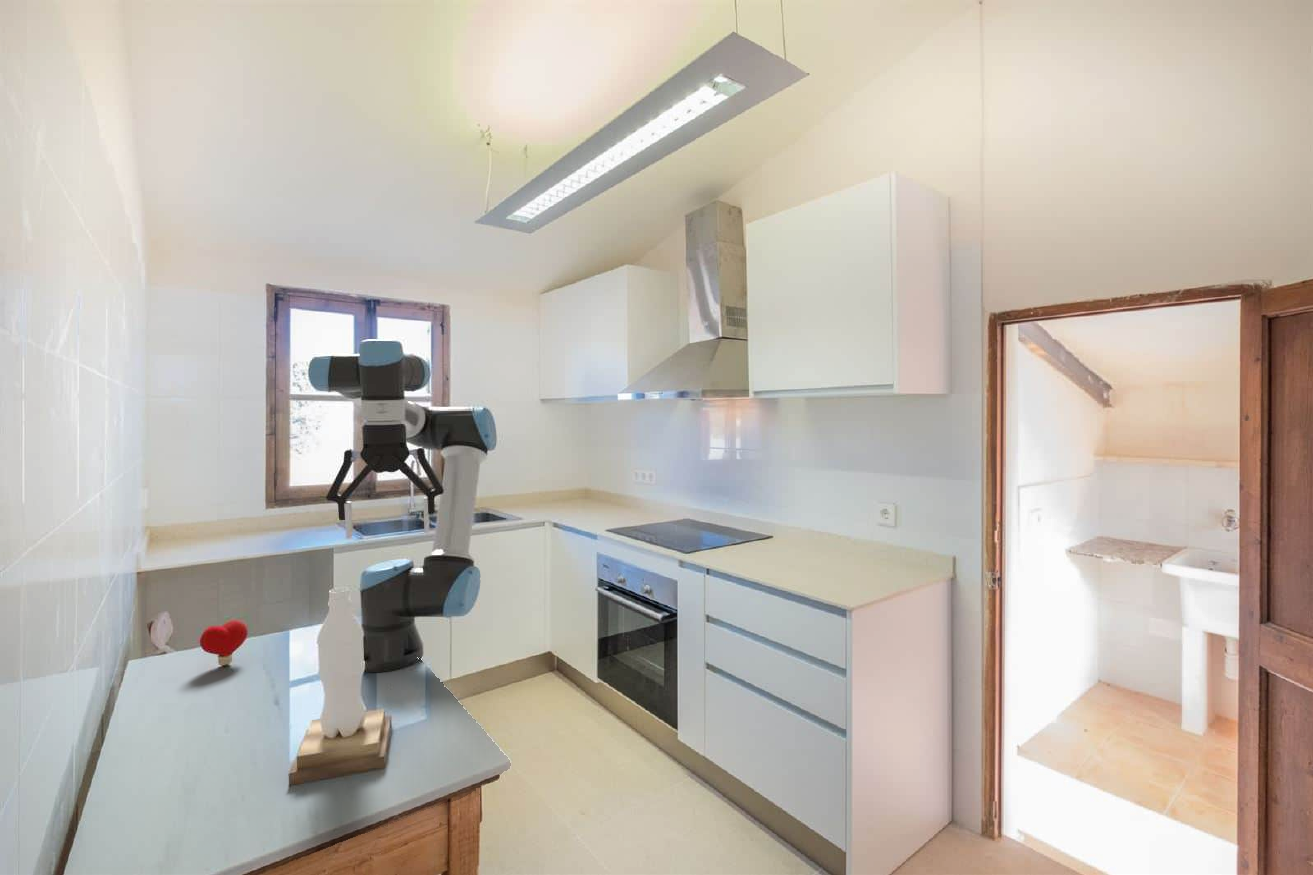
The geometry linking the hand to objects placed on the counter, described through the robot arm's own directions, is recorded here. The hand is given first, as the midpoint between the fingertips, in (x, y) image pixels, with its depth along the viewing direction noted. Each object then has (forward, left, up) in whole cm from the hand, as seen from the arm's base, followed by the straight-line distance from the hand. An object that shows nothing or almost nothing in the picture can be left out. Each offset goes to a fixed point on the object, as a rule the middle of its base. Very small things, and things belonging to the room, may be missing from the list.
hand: (389, 534), depth 115 cm
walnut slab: (+10, -7, -36) cm, 38 cm away
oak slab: (+10, -7, -34) cm, 36 cm away
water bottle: (+10, -7, -32) cm, 35 cm away
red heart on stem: (-39, -39, -36) cm, 66 cm away
